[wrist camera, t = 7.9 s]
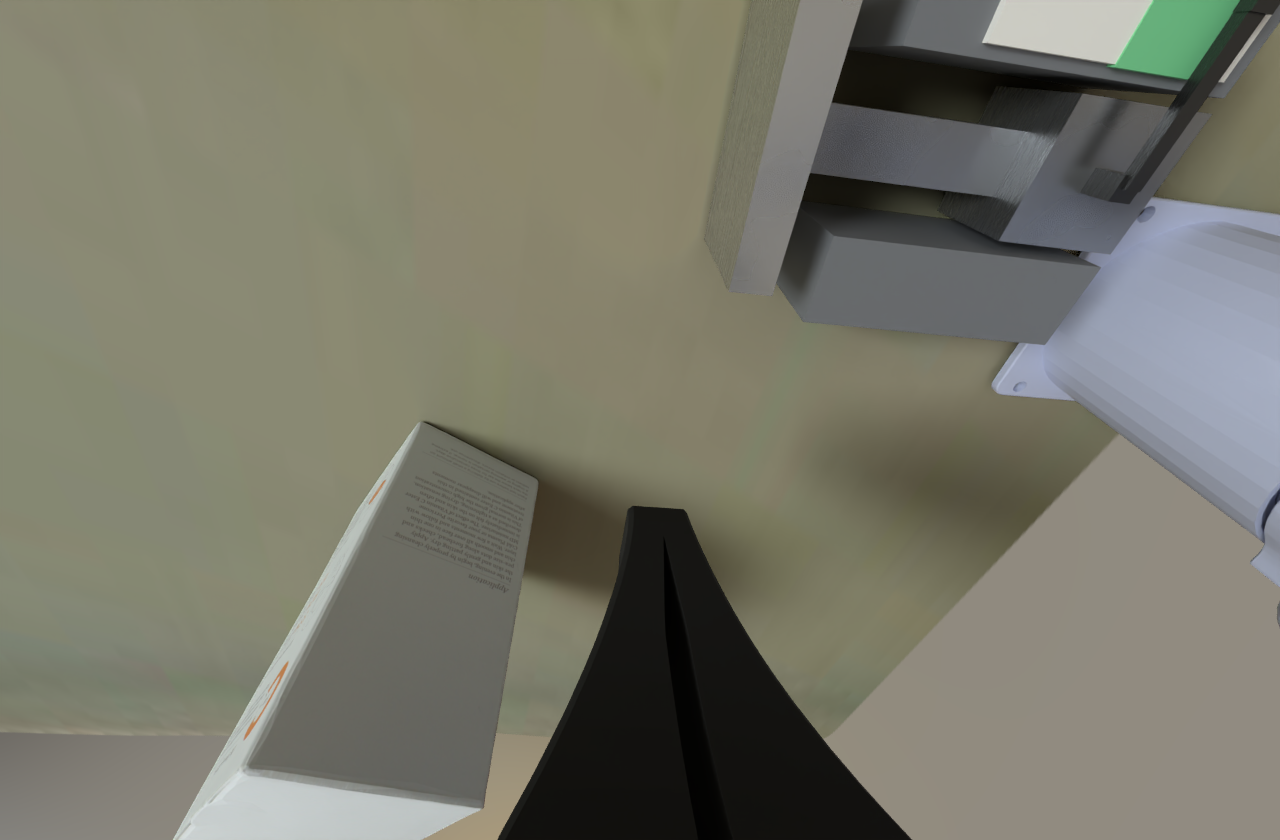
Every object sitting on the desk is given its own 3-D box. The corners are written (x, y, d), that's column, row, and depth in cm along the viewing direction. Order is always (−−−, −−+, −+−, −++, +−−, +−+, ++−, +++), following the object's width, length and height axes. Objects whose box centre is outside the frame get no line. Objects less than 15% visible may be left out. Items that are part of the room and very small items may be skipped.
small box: (466, 558, 27) (373, 870, 17) (353, 513, 24) (159, 851, 14) (544, 478, 23) (487, 814, 13) (421, 415, 21) (226, 774, 10)
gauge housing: (1153, -26, 13) (1347, -54, 9) (970, 294, 18) (1050, 348, 15) (872, -80, 12) (973, -133, 8) (769, 272, 17) (805, 325, 14)
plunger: (1165, -10, 13) (1382, -35, 9) (997, 272, 17) (1097, 329, 14) (768, -84, 11) (837, -147, 8) (704, 239, 16) (728, 292, 13)
